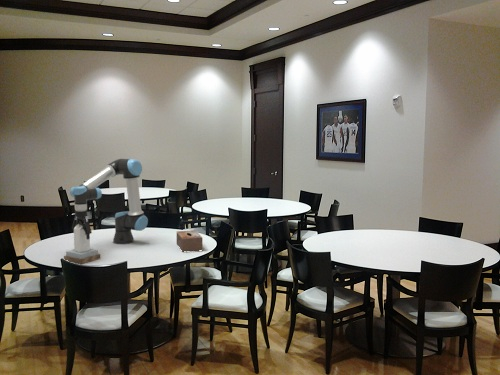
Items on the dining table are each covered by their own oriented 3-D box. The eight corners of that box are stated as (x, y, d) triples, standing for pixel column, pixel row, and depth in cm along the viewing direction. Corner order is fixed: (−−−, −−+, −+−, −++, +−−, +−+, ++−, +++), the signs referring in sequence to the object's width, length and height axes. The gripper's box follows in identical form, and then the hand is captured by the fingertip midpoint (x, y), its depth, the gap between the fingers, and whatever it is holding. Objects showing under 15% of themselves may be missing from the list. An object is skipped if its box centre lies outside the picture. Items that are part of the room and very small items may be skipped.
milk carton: (84, 248, 307) (83, 220, 305) (90, 250, 303) (89, 222, 300) (74, 250, 302) (73, 222, 299) (80, 252, 297) (79, 223, 295)
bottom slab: (83, 255, 314) (83, 250, 313) (100, 258, 306) (100, 254, 305) (64, 260, 300) (63, 256, 299) (80, 264, 292) (80, 259, 292)
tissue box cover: (202, 251, 329) (202, 237, 328) (182, 252, 325) (182, 238, 324) (195, 243, 354) (195, 230, 353) (176, 244, 349) (176, 231, 348)
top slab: (83, 251, 312) (83, 247, 312) (98, 254, 305) (97, 249, 305) (66, 256, 300) (66, 251, 299) (80, 259, 293) (80, 254, 293)
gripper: (65, 208, 304) (66, 240, 306) (86, 213, 288) (87, 246, 291) (76, 207, 310) (77, 238, 312) (96, 211, 294) (97, 244, 296)
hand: (81, 242), depth 301 cm, fingers open, 13 cm apart
